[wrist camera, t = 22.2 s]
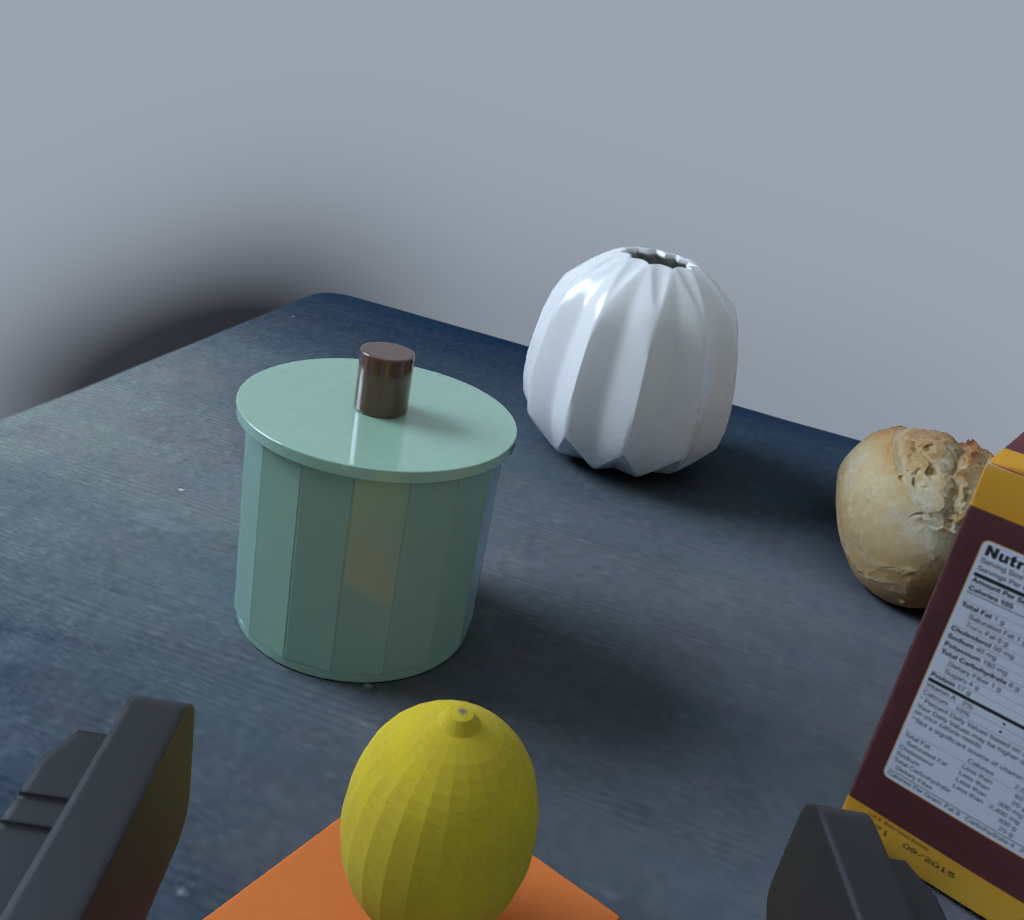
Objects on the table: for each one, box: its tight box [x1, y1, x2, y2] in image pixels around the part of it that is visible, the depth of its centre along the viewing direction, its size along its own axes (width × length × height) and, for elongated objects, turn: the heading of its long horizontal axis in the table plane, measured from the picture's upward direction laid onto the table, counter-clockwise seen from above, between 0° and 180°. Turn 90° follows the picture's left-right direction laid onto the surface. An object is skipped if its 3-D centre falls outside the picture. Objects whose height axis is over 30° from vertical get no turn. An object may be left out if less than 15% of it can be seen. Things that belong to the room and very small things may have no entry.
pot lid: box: [236, 342, 517, 483], centre depth 39 cm, size 11×11×4 cm
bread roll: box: [836, 426, 994, 609], centre depth 56 cm, size 10×15×8 cm, turn 164°
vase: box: [523, 247, 738, 477], centre depth 63 cm, size 14×14×13 cm
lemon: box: [340, 700, 539, 920], centre depth 27 cm, size 6×6×8 cm
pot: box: [234, 432, 502, 682], centre depth 42 cm, size 10×10×9 cm
